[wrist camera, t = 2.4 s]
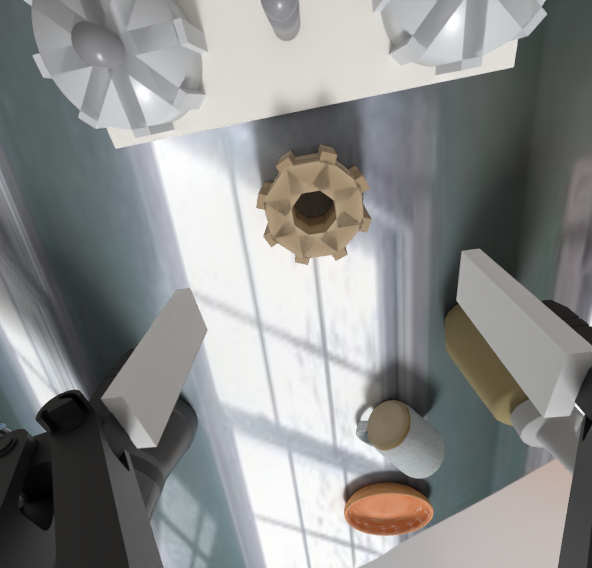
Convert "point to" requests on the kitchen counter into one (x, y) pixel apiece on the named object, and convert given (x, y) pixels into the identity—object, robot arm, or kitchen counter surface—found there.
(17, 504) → the robot arm
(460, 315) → the squeeze bottle
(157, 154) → the kitchen counter surface
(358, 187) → the wooden gear
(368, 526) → the saucer
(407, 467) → the ceramic mug
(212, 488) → the kitchen counter surface
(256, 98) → the gear board
